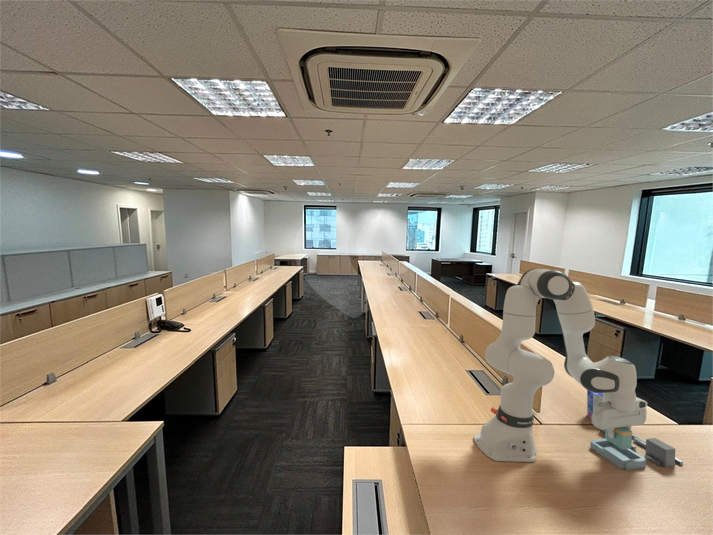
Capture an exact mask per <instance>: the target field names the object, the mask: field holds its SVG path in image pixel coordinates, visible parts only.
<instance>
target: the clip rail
mask: <svg viewBox="0 0 713 535" xmlns="http://www.w3.org/2000/svg"><path fill="white" fill-rule="evenodd" d="M600 432H602V433H603V434H605V430H601V429H600ZM632 440H633V442H634V443H635V444H637V445H639V446H641V447H642V448H644V449H645V450H646V440H644V439H643V438H641V437H639V436H637V435H636V434H634V433H632ZM629 449H631V450H632V451H634V452H635V451H637V446H636V445H634V444H632V446H631V448H629ZM644 458H646V460H647V461H650V462H651V463H653V464H655V465H656V466H658V467H663V466H662V462H661V461H659V460H658V459H656V458H654V457H653V456H651V455H649V454H647V453H646V452H645V453H644ZM675 464H678V465H679V466H683V464H684V461H682V460H680V459H679V458H677V457H675Z"/></svg>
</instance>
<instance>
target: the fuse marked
mask: <svg viewBox="0 0 713 535" xmlns="http://www.w3.org/2000/svg"><path fill="white" fill-rule="evenodd" d="M613 432H614V433H615V434H616V438H614V439H612V438H610V437H609V436H608V431H607V429H605V433H604V438H605V439H606V440H608V441H609V442H611V443H613V444H614V445H616V446H617V447H619V448H621V449H622V450H623V449H630V448H631V446H632V445H633V443H632V441H633V438H632V434H633V430H631V429H630V430H629V429H628V428H626V427H619V428H614V430H613Z"/></svg>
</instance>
